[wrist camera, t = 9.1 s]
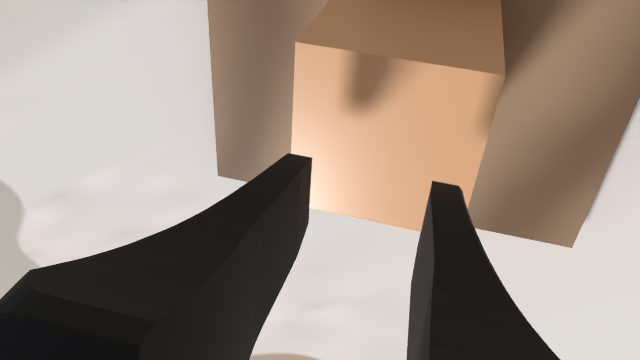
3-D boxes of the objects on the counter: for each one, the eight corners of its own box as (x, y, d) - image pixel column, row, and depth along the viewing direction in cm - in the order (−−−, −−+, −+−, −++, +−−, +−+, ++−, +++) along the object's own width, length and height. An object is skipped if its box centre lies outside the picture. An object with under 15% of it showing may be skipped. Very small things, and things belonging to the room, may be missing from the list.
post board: (226, 164, 26) (173, 236, 22) (209, -180, 18) (120, -176, 14) (568, 233, 24) (587, 330, 19) (728, -136, 16) (823, -113, 11)
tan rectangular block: (336, 108, 22) (288, 203, 17) (348, -24, 19) (295, 42, 14) (466, 131, 21) (458, 239, 16) (500, -3, 18) (505, 75, 13)
